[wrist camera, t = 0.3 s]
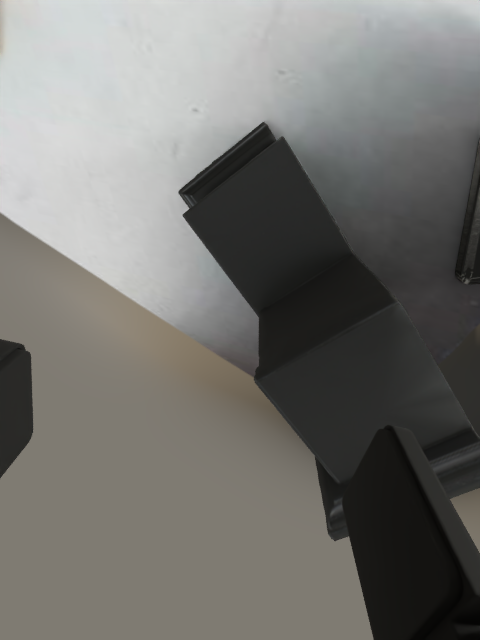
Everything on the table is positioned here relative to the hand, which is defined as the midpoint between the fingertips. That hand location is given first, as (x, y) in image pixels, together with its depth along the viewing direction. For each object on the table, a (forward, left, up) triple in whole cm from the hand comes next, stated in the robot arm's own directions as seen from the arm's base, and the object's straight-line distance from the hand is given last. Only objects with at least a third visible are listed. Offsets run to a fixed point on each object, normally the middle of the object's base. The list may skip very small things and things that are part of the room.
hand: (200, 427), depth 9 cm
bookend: (+2, +5, -31) cm, 31 cm away
